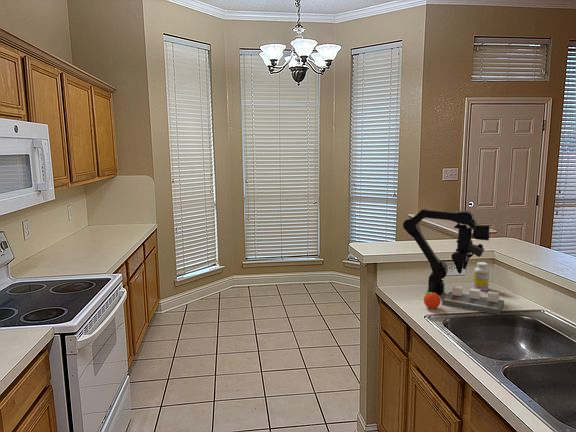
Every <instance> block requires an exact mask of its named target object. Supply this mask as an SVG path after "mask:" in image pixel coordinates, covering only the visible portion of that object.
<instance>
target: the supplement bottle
mask: <svg viewBox="0 0 576 432" xmlns="http://www.w3.org/2000/svg"><path fill="white" fill-rule="evenodd" d="M476 266H477V267H474V272H473V273H474V277H473V289H479V290H481V291H487V290H489V286H490V285H489V284H490V283H489V281H490V269H489V268H488V266H489V265H488V263H487V262H483V261H481V262H480V261H479V262H477V263H476Z"/></svg>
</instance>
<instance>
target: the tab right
mask: <svg viewBox="0 0 576 432" xmlns="http://www.w3.org/2000/svg"><path fill="white" fill-rule="evenodd" d="M499 297H500V292H498V291H497V292H496V291H490V290H489V291H488V292H487V298H488V299H487V301H491V302H498V301H499V300H500V298H499Z"/></svg>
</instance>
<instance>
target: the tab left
mask: <svg viewBox="0 0 576 432" xmlns="http://www.w3.org/2000/svg"><path fill="white" fill-rule="evenodd" d="M463 289H464V287H463V286H460V285H452V287H451V292H452V295H455V296H462V294H464V293H463V291H464V290H463Z"/></svg>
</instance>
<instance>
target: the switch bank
mask: <svg viewBox="0 0 576 432" xmlns="http://www.w3.org/2000/svg"><path fill="white" fill-rule="evenodd" d="M487 299H488V297H486V296H480V298H479V299H473V298H469V293H467V294H466V293H463V294H462V296H455V295H452V291H449V292H448V293H447V294H446V295H445V296H444V297H443V298H442V300H441V305H444V306H449V307H454V308H459V309H465V310H470V309H472V310H471V311H475V310H478V311H477V312H481V311H482V312H481V313H487V314H492V315H496V316H497V315H498V316H499V315H500V314H501V312H502V310H503V308H504V306H505V300H502V299H499V301H498V302H491V301H487Z"/></svg>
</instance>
